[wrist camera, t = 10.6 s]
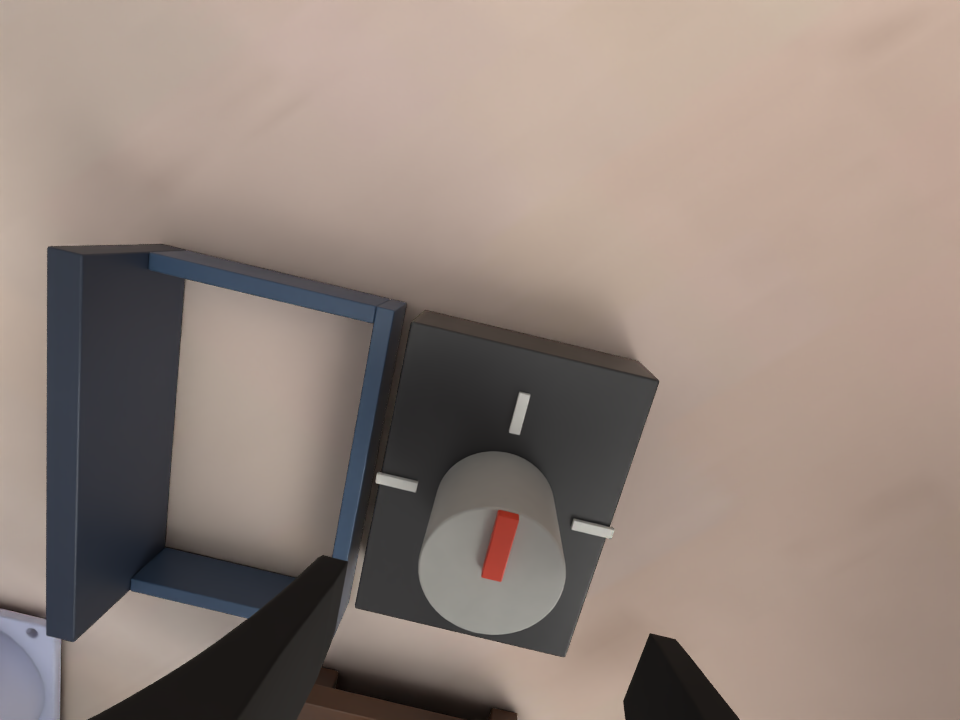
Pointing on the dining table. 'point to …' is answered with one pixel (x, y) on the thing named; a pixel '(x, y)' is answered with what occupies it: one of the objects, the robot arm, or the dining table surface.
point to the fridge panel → (504, 428)
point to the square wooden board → (366, 705)
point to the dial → (493, 546)
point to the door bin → (162, 428)
